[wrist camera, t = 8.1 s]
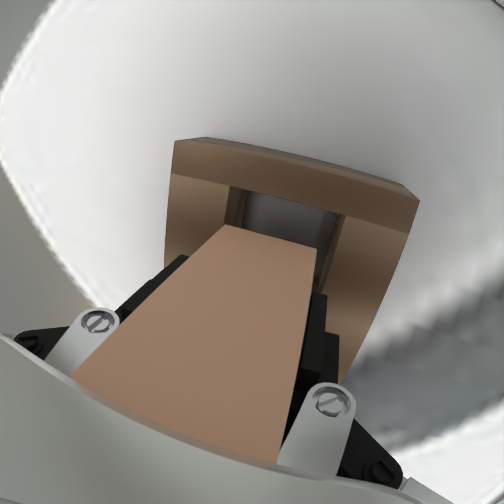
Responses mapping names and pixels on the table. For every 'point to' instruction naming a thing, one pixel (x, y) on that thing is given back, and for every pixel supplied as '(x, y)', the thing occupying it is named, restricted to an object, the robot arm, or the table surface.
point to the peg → (214, 344)
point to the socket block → (306, 192)
